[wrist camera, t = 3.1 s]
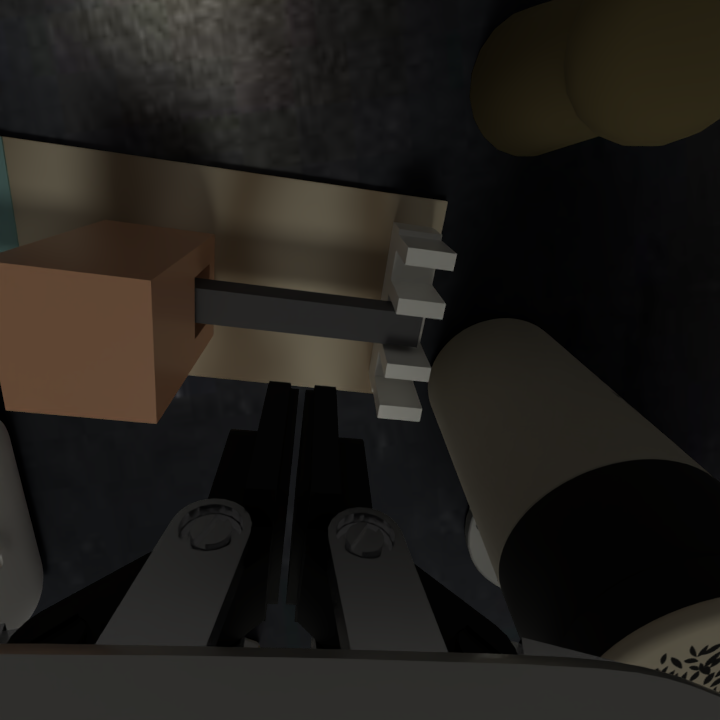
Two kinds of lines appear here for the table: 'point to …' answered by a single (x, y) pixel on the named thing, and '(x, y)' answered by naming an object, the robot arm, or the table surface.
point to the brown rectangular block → (102, 320)
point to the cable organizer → (16, 545)
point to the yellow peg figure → (598, 74)
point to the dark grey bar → (303, 313)
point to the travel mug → (581, 503)
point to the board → (226, 240)
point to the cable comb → (413, 298)
